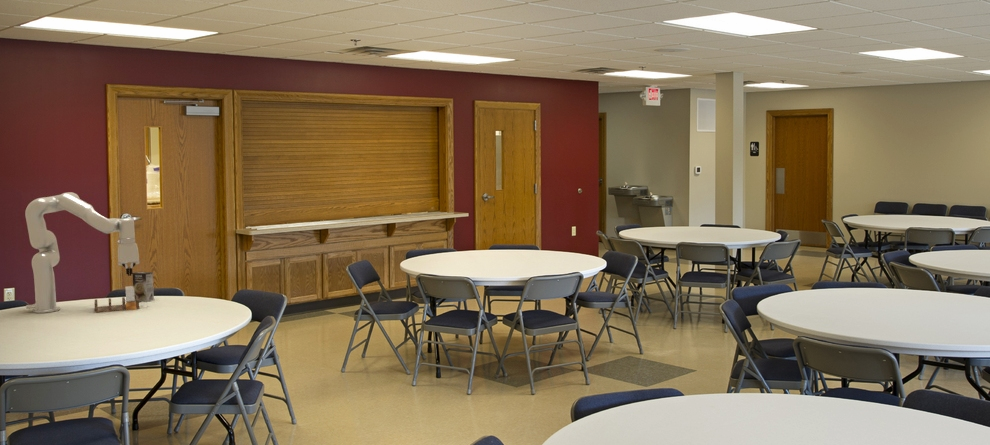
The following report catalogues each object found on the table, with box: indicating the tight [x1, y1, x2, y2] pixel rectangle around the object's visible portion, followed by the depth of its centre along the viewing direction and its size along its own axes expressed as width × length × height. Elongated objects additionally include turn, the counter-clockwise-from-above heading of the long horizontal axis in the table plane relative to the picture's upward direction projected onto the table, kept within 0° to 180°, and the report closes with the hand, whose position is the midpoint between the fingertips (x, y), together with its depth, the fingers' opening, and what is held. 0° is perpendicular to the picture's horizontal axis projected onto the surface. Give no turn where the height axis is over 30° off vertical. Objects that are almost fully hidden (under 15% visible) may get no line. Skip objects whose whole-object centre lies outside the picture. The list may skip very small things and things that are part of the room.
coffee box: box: [132, 271, 155, 303], centre depth 469 cm, size 9×6×16 cm
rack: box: [94, 296, 140, 314], centre depth 445 cm, size 21×15×5 cm
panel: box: [125, 285, 136, 304], centre depth 448 cm, size 4×11×10 cm, turn 25°
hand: (129, 275), depth 447 cm, fingers closed
